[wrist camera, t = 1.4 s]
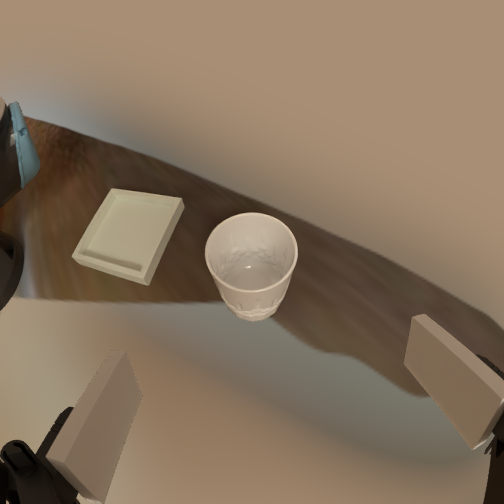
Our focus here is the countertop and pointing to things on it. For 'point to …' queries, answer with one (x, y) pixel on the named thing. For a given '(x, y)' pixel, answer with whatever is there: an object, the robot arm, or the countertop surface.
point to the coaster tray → (129, 234)
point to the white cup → (251, 263)
